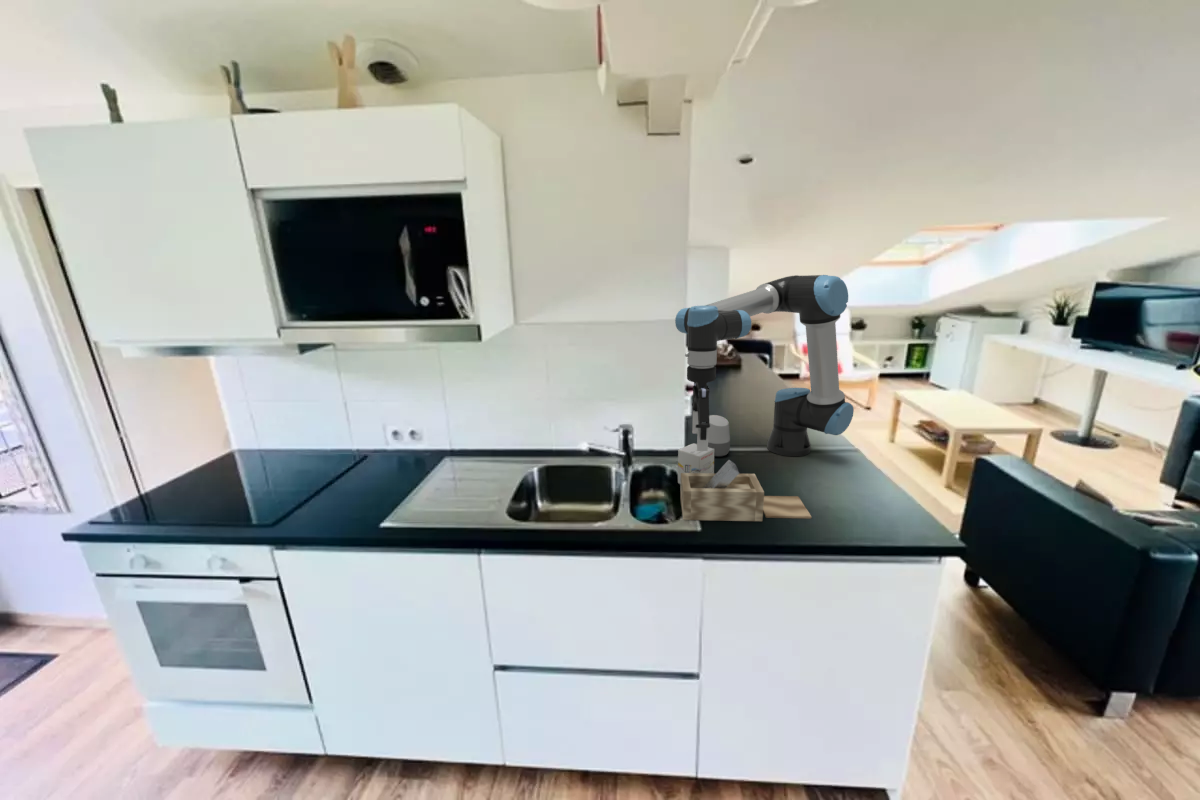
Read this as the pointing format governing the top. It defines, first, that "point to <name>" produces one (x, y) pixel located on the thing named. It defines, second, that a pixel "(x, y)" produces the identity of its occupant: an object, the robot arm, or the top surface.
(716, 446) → the smart speaker
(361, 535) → the top surface
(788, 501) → the pad
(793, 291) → the robot arm
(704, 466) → the ink box
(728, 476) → the grey flat bar
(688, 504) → the box
